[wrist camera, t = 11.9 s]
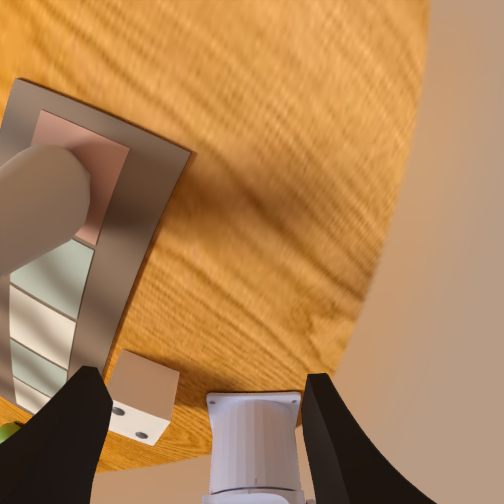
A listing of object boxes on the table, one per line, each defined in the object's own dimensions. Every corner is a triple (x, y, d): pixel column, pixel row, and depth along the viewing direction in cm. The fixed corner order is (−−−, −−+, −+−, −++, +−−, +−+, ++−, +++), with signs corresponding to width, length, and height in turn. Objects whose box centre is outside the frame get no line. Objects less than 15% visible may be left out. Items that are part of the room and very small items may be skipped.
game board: (84, 439, 31) (83, 442, 31) (-1, 392, 28) (-3, 395, 28) (191, 152, 16) (190, 153, 16) (17, 78, 13) (14, 78, 13)
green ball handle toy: (37, 444, 34) (15, 503, 23) (3, 421, 32) (-22, 479, 21) (43, 436, 32) (19, 501, 21) (6, 411, 30) (-23, 475, 19)
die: (162, 401, 26) (152, 446, 22) (111, 380, 25) (95, 424, 21) (180, 371, 24) (170, 422, 20) (122, 347, 23) (103, 396, 19)
